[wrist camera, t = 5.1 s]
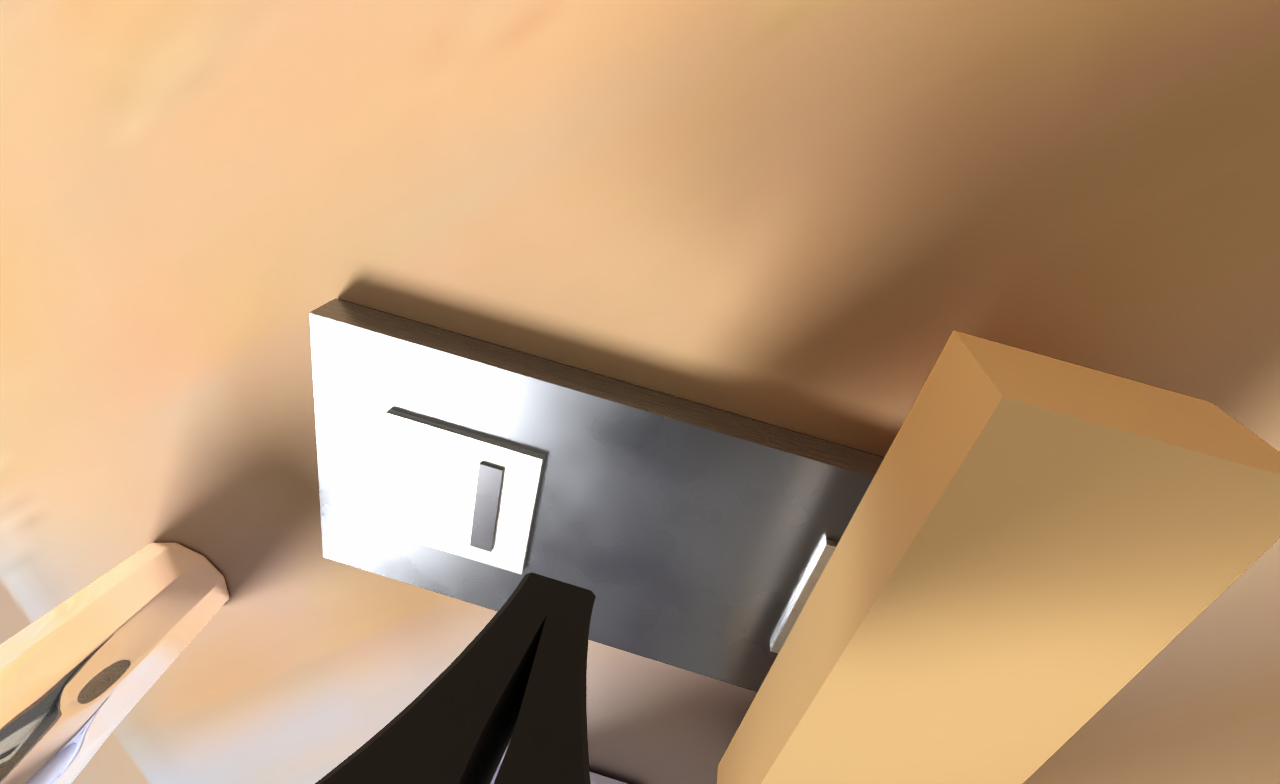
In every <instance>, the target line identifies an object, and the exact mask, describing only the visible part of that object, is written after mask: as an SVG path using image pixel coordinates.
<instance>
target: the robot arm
mask: <svg viewBox="0 0 1280 784" xmlns="http://www.w3.org/2000/svg"><path fill="white" fill-rule="evenodd" d="M595 598H596V596H595V595H594V593H593V592H592V591H591V590H588V589H585V588H581V587H578V586H575V585H572V584H568V583H565V582H562V581H559V580H555V579H552V578H549V577H545V576H542V575H539V574H536V573H532V572H531V573H528V574H526V575H525V576H524V577H523V579H522V580H521V582H520V583H519V585H518V586H517V588H516V589H515V590H514V592H513V593H512V594H511V596H510V597H509V598H508V600H507V601H506V602H505V604H504V605H503V606H502V607H501V609H500V610H499V611H498V612H497V613H496V615H495V616H494V617H493V618H492V619H491V621H490V622H489V623H488V624H487V625H486V626H485V628H484V629H483V630H482V631H481V632H480V633H479V634H478V635H477V636H476V638H475V639H474V640H473V641H472V642H471V643H470V644H469V645H468V646H467V647H466V648H465V650H464V651H463V652H462V653H461V654H460V655H459V656H458V657H457V658H456V659H455V660H454V661H453V662H452V663H451V665H450V666H449V667H448V668H447V669H445V670H444V671H443V672H442V673H441V674H440V675H439V676H438V677H437V678H436V679H435V680H434V681H433V682H432V683H431V684H430V685H429V686H428V687H427V688H426V689H425V690H424V691H423V692H422V693H421V694H420V695H419V696H418V697H417V698H416V699H415V700H414V701H413V702H412V703H411V704H409V705H408V706H407V707H406V708H405V709H404V710H403V711H402V712H401V713H400V714H399V715H397V716H396V717H395V718H394V719H393V720H392V721H391V722H390V723H388V724H387V725H386V726H385V727H384V728H383V729H382V730H380V731H379V732H378V733H377V734H376V735H375V736H373V737H372V738H371V739H370V740H369V741H368V742H366V743H365V744H364V745H363V746H362V747H360V748H359V749H358V750H357V751H355V752H354V753H353V754H352V755H351V756H349V757H348V758H347V759H346V760H344V761H343V762H342V763H341V764H339V765H338V766H337V767H336V768H334V769H333V770H332V771H331V772H329V773H328V774H327V775H326V776H324V777H323V778H322V779H321V780H319V781H318V782H317V783H315V784H627V783H624V782H621V781H618V780H615V779H612V778H609V777H606V776H602V775H599V774H596V773H593V772H590V771H589V757H588V740H587V716H586V669H587V650H588V637H589V628H590V621H591V615H592V609H593V605H594V601H595ZM510 739H511V740H510ZM509 742H510V743H509ZM508 744H509V745H508Z"/></svg>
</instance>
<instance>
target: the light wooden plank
mask: <svg viewBox="0 0 1280 784" xmlns="http://www.w3.org/2000/svg"><path fill="white" fill-rule="evenodd" d="M1279 538H1280V452H1279V451H1277V450H1276V449H1274V448H1273V447H1272V446H1270V445H1269V444H1268V443H1266V442H1265V441H1264V440H1262V439H1261V438H1259V437H1258V436H1257V435H1255V434H1254V433H1253V432H1251V431H1250V430H1249V429H1247V428H1246V427H1244V426H1243V425H1242V424H1240V423H1239V422H1238V421H1236V420H1235V419H1233V418H1232V417H1231V416H1229V415H1228V414H1227V413H1225V412H1224V411H1223V410H1221V409H1220V408H1218V407H1217V406H1216V405H1214V404H1213V403H1212V402H1208V401H1205V400H1201V399H1198V398H1194V397H1191V396H1187V395H1183V394H1180V393H1176V392H1173V391H1169V390H1166V389H1162V388H1158V387H1155V386H1151V385H1148V384H1144V383H1141V382H1137V381H1133V380H1130V379H1126V378H1123V377H1119V376H1115V375H1112V374H1108V373H1105V372H1101V371H1098V370H1094V369H1090V368H1087V367H1083V366H1080V365H1076V364H1073V363H1069V362H1065V361H1062V360H1058V359H1055V358H1051V357H1048V356H1044V355H1040V354H1037V353H1033V352H1030V351H1026V350H1023V349H1019V348H1015V347H1012V346H1008V345H1005V344H1001V343H998V342H994V341H990V340H987V339H983V338H980V337H976V336H973V335H969V334H965V333H962V332H958V331H955V330H953V332H952V334H951V336H950V337H949V339H948V341H947V343H946V345H945V347H944V349H943V350H942V352H941V354H940V356H939V358H938V360H937V361H936V363H935V365H934V367H933V369H932V371H931V373H930V374H929V376H928V378H927V380H926V382H925V384H924V386H923V387H922V389H921V391H920V393H919V395H918V397H917V398H916V400H915V402H914V404H913V406H912V408H911V410H910V411H909V413H908V415H907V417H906V419H905V421H904V422H903V424H902V426H901V428H900V430H899V432H898V434H897V435H896V437H895V439H894V441H893V443H892V445H891V447H890V448H889V450H888V452H887V454H886V456H885V458H884V459H883V461H882V463H881V465H880V467H879V469H878V471H877V472H876V474H875V476H874V478H873V480H872V482H871V484H870V485H869V487H868V489H867V491H866V493H865V495H864V496H863V498H862V500H861V502H860V504H859V506H858V508H857V509H856V511H855V513H854V515H853V517H852V519H851V520H850V522H849V524H848V526H847V528H846V530H845V532H844V533H843V535H842V537H841V539H840V541H839V543H838V545H837V546H836V548H835V550H834V552H833V554H832V556H831V557H830V559H829V561H828V563H827V565H826V567H825V569H824V570H823V572H822V574H821V576H820V578H819V580H818V582H817V583H816V585H815V587H814V589H813V591H812V593H811V594H810V596H809V598H808V600H807V602H806V604H805V606H804V607H803V609H802V611H801V613H800V615H799V617H798V618H797V620H796V622H795V624H794V626H793V628H792V630H791V631H790V633H789V635H788V637H787V639H786V641H785V643H784V644H783V646H782V648H781V650H780V652H779V654H778V655H777V657H776V659H775V661H774V663H773V665H772V667H771V668H770V670H769V672H768V674H767V676H766V678H765V680H764V681H763V683H762V685H761V687H760V689H759V691H758V692H757V694H756V696H755V698H754V700H753V702H752V704H751V705H750V707H749V709H748V711H747V713H746V715H745V716H744V718H743V720H742V722H741V724H740V726H739V728H738V729H737V731H736V733H735V735H734V737H733V739H732V741H731V742H730V744H729V746H728V748H727V750H726V752H725V753H724V755H723V757H722V759H721V761H720V763H719V765H718V772H717V784H1023V783H1024V782H1025V781H1026V780H1027V779H1028V778H1029V777H1030V776H1031V775H1032V774H1033V773H1034V772H1035V771H1036V770H1037V769H1038V768H1039V767H1040V766H1041V765H1042V764H1044V763H1045V762H1046V761H1047V760H1048V759H1049V758H1050V757H1051V756H1052V755H1053V754H1054V753H1055V752H1056V751H1057V750H1058V749H1059V748H1060V747H1061V746H1062V745H1063V744H1064V743H1065V742H1067V741H1068V740H1069V739H1070V738H1071V737H1072V736H1073V735H1074V734H1075V733H1076V732H1077V731H1078V730H1079V729H1080V728H1081V727H1082V726H1083V725H1084V724H1085V723H1086V722H1087V721H1088V720H1090V719H1091V718H1092V717H1093V716H1094V715H1095V714H1096V713H1097V712H1098V711H1099V710H1100V709H1101V708H1102V707H1103V706H1104V705H1105V704H1106V703H1107V702H1108V701H1109V700H1110V699H1111V698H1113V697H1114V696H1115V695H1116V694H1117V693H1118V692H1119V691H1120V690H1121V689H1122V688H1123V687H1124V686H1125V685H1126V684H1127V683H1128V682H1129V681H1130V680H1131V679H1132V678H1133V677H1134V676H1136V675H1137V674H1138V673H1139V672H1140V671H1141V670H1142V669H1143V668H1144V667H1145V666H1146V665H1147V664H1148V663H1149V662H1150V661H1151V660H1152V659H1153V658H1154V657H1155V656H1156V655H1157V654H1159V653H1160V652H1161V651H1162V650H1163V649H1164V648H1165V647H1166V646H1167V645H1168V644H1169V643H1170V642H1171V641H1172V640H1173V639H1174V638H1175V637H1176V636H1177V635H1178V634H1179V633H1180V632H1182V631H1183V630H1184V629H1185V628H1186V627H1187V626H1188V625H1189V624H1190V623H1191V622H1192V621H1193V620H1194V619H1195V618H1196V617H1197V616H1198V615H1199V614H1200V613H1201V612H1202V611H1203V610H1205V609H1206V608H1207V607H1208V606H1209V605H1210V604H1211V603H1212V602H1213V601H1214V600H1215V599H1216V598H1217V597H1218V596H1219V595H1220V594H1221V593H1222V592H1223V591H1224V590H1225V589H1226V588H1228V587H1229V586H1230V585H1231V584H1232V583H1233V582H1234V581H1235V580H1236V579H1237V578H1238V577H1239V576H1240V575H1241V574H1242V573H1243V572H1244V571H1245V570H1246V569H1247V568H1248V567H1249V566H1251V565H1252V564H1253V563H1254V562H1255V561H1256V560H1257V559H1258V558H1259V557H1260V556H1261V555H1262V554H1263V553H1264V552H1265V551H1266V550H1267V549H1268V548H1269V547H1270V546H1271V545H1272V544H1274V543H1275V542H1276V541H1277V540H1278V539H1279Z"/></svg>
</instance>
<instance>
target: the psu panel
mask: <svg viewBox="0 0 1280 784" xmlns="http://www.w3.org/2000/svg"><path fill="white" fill-rule="evenodd" d="M309 319H310V336H311V354H312V371H313V389H314V407H315V424H316V442H317V459H318V477H319V494H320V512H321V529H322V547H323V557H324V558H327V559H331V560H334V561H337V562H340V563H344V564H347V565H350V566H353V567H356V568H360V569H363V570H366V571H369V572H373V573H376V574H379V575H382V576H385V577H389V578H392V579H395V580H398V581H402V582H405V583H408V584H411V585H414V586H418V587H421V588H424V589H427V590H431V591H434V592H437V593H440V594H443V595H447V596H450V597H453V598H456V599H460V600H463V601H466V602H469V603H472V604H476V605H479V606H482V607H485V608H489V609H492V610H495V611H499V610H500V609H501V607H502V606H503V605H504V604H505V602H506V601H507V600H508V598H509V597H510V596H511V594H512V593H513V592H514V590H515V589H516V588H517V586H518V585H519V583H520V582H521V580H522V579H523V577H524V576H525V575H526V574H528V573H531V572H532V573H536V574H539V575H542V576H545V577H549V578H552V579H555V580H559V581H562V582H565V583H568V584H572V585H575V586H578V587H581V588H585V589H588V590H591V591H592V592H593V593H594V595H595V596H596V598H595V601H594V605H593V609H592V615H591V621H590V628H589V637H588V640H592V641H595V642H598V643H601V644H605V645H608V646H611V647H614V648H617V649H621V650H624V651H627V652H630V653H634V654H637V655H640V656H643V657H646V658H650V659H653V660H656V661H659V662H663V663H666V664H669V665H672V666H675V667H679V668H682V669H685V670H688V671H692V672H695V673H698V674H701V675H704V676H708V677H711V678H714V679H717V680H721V681H724V682H727V683H730V684H733V685H737V686H740V687H743V688H746V689H750V690H753V691H756V692H758V691H759V689H760V687H761V685H762V683H763V681H764V680H765V678H766V676H767V674H768V672H769V670H770V668H771V667H772V665H773V663H774V661H775V659H776V657H777V655H778V654H779V652H780V650H781V648H782V646H783V644H784V643H785V641H786V639H787V637H788V635H789V633H790V631H791V630H792V628H793V626H794V624H795V622H796V620H797V618H798V617H799V615H800V613H801V611H802V609H803V607H804V606H805V604H806V602H807V600H808V598H809V596H810V594H811V593H812V591H813V589H814V587H815V585H816V583H817V582H818V580H819V578H820V576H821V574H822V572H823V570H824V569H825V567H826V565H827V563H828V561H829V559H830V557H831V556H832V554H833V552H834V550H835V548H836V546H837V545H838V543H839V541H840V539H841V537H842V535H843V533H844V532H845V530H846V528H847V526H848V524H849V522H850V520H851V519H852V517H853V515H854V513H855V511H856V509H857V508H858V506H859V504H860V502H861V500H862V498H863V496H864V495H865V493H866V491H867V489H868V487H869V485H870V484H871V482H872V480H873V478H874V476H875V474H876V472H877V471H878V469H879V467H880V465H881V463H882V461H883V459H884V457H880V456H877V455H873V454H870V453H866V452H863V451H859V450H856V449H853V448H849V447H846V446H842V445H839V444H835V443H832V442H828V441H825V440H822V439H818V438H815V437H811V436H808V435H804V434H801V433H798V432H794V431H791V430H787V429H784V428H780V427H777V426H773V425H770V424H767V423H763V422H760V421H756V420H753V419H749V418H746V417H742V416H739V415H736V414H732V413H729V412H725V411H722V410H718V409H715V408H711V407H708V406H705V405H701V404H698V403H694V402H691V401H687V400H684V399H680V398H677V397H674V396H670V395H667V394H663V393H660V392H656V391H653V390H649V389H646V388H643V387H639V386H636V385H632V384H629V383H625V382H622V381H618V380H615V379H612V378H608V377H605V376H601V375H598V374H594V373H591V372H587V371H584V370H581V369H577V368H574V367H570V366H567V365H563V364H560V363H556V362H553V361H550V360H546V359H543V358H539V357H536V356H532V355H529V354H525V353H522V352H519V351H515V350H512V349H508V348H505V347H501V346H498V345H495V344H491V343H488V342H484V341H481V340H477V339H474V338H470V337H467V336H464V335H460V334H457V333H453V332H450V331H446V330H443V329H439V328H436V327H433V326H429V325H426V324H422V323H419V322H415V321H412V320H408V319H405V318H402V317H398V316H395V315H391V314H388V313H384V312H381V311H377V310H374V309H371V308H367V307H364V306H360V305H357V304H353V303H350V302H346V301H343V300H340V299H334V300H332V301H330V302H328V303H326V304H325V305H323V306H321V307H319V308H317V309H315V310H313V311H311V312H310V313H309Z"/></svg>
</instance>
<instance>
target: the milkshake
mask: <svg viewBox="0 0 1280 784" xmlns="http://www.w3.org/2000/svg"><path fill="white" fill-rule="evenodd" d="M228 599H229V593H228V590H227V586H226V582H225V579H224V576H223V575H222V574H221V573H220V572H219V571H218V570H217V569H216V568H215V567H214V566H213V565H212V564H211V563H210V562H209V561H208V560H207V559H206V558H205V557H204V556H203V555H201V554H199V553H197V552H195V551H192V550H190V549H188V548H186V547H184V546H182V545H180V544H178V543H150V544H149V545H147V546H145V547H144V548H142V549H141V550H139V551H138V552H136V553H135V554H133V555H132V556H131V557H129V558H128V559H126V560H125V561H123V562H122V563H120V564H119V565H117V566H116V567H114V568H113V569H111V570H110V571H108V572H107V573H105V574H104V575H102V576H101V577H99V578H98V579H96V580H95V581H94V582H92V583H91V584H89V585H88V586H86V587H85V588H83V589H82V590H80V591H79V592H77V593H76V594H74V595H73V596H71V597H70V598H68V599H67V600H65V601H64V602H62V603H61V604H60V605H58V606H57V607H55V608H54V609H52V610H51V611H49V612H48V613H46V614H45V615H43V616H42V617H40V618H39V619H37V620H36V621H34V622H33V623H31V624H30V625H29V626H27V627H26V628H24V629H23V630H21V631H20V632H18V633H17V634H15V635H14V636H12V637H11V638H9V639H8V640H6V641H5V642H3V643H2V644H1V645H0V784H71V783H72V781H73V780H74V779H75V778H76V777H77V775H78V774H79V773H80V772H81V771H82V769H83V768H84V767H85V766H86V764H87V763H88V762H89V761H90V759H91V758H92V757H93V755H94V754H95V753H96V752H97V750H98V749H99V748H100V746H101V745H102V744H103V743H104V741H105V740H106V739H107V738H108V736H109V735H110V734H111V733H112V731H113V730H114V729H115V728H116V727H117V726H118V724H119V723H120V722H121V721H122V720H123V719H124V717H125V716H126V715H127V714H128V713H129V712H130V710H131V709H132V708H133V707H134V706H135V705H136V704H137V702H138V701H139V700H140V699H141V698H142V697H143V696H144V694H145V693H146V692H147V691H148V690H149V689H150V688H151V686H152V685H153V684H154V683H155V682H156V681H157V680H158V679H159V677H160V676H161V675H162V674H163V673H164V672H165V671H166V669H167V668H168V667H169V666H170V665H171V664H172V663H173V661H174V660H175V659H176V658H177V657H178V656H179V655H180V654H181V652H182V651H183V650H184V649H185V648H186V647H187V646H188V644H189V643H190V642H191V641H192V640H193V639H194V638H195V637H196V635H197V634H198V633H199V632H200V631H201V630H202V629H203V627H204V626H205V625H206V624H207V623H208V622H209V621H210V620H211V618H212V617H213V616H214V615H215V614H216V613H217V612H218V610H219V609H220V608H221V607H222V606H223V605H224V604H225V602H226V601H227V600H228Z"/></svg>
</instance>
